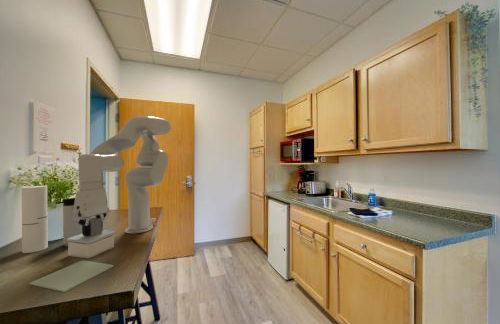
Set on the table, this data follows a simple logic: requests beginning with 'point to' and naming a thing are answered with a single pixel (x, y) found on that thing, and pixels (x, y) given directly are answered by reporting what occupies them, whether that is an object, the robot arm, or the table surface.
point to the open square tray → (90, 247)
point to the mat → (71, 275)
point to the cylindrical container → (34, 219)
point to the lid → (93, 232)
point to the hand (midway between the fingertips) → (92, 232)
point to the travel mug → (69, 221)
